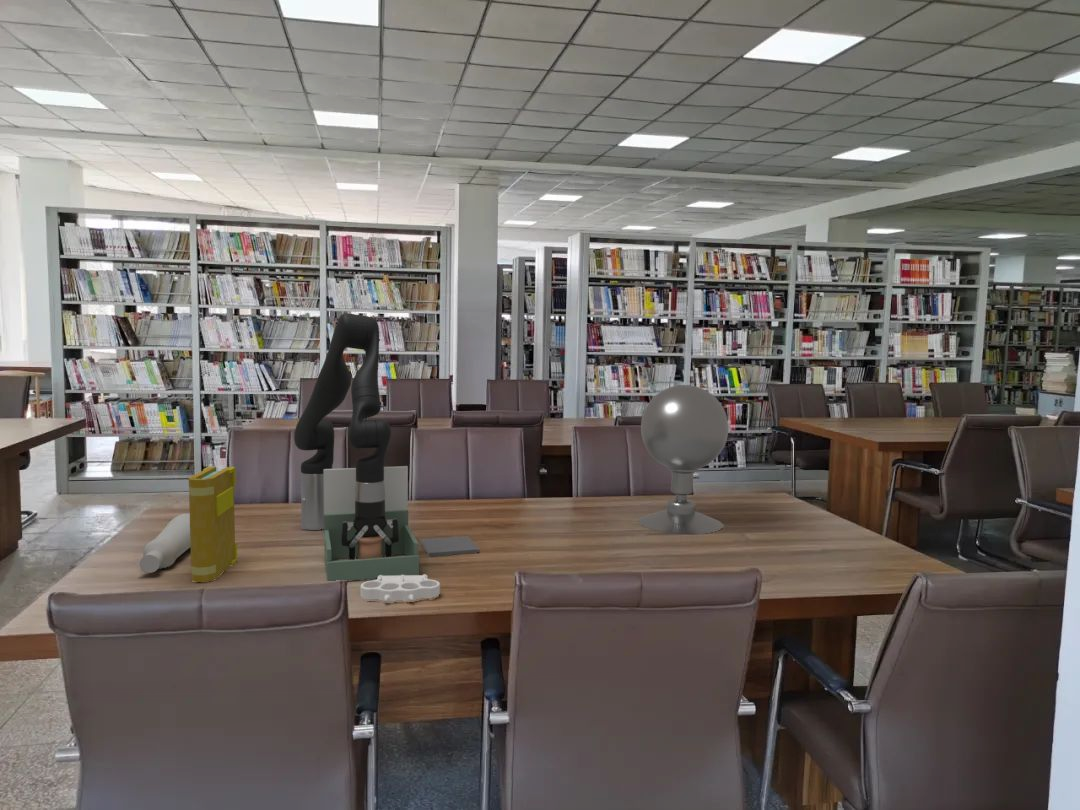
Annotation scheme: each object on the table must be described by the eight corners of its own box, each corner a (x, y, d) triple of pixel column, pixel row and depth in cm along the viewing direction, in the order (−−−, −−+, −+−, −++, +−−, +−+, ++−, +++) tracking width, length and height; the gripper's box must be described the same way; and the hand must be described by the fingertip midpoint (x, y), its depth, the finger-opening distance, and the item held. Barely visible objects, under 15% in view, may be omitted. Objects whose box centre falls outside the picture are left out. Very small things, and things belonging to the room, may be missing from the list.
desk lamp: (628, 527, 236) (632, 385, 232) (649, 509, 262) (653, 380, 257) (716, 538, 226) (723, 389, 222) (729, 518, 252) (735, 384, 247)
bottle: (164, 532, 210) (121, 569, 180) (182, 505, 210) (142, 538, 180) (193, 549, 212) (156, 588, 182) (211, 522, 211) (177, 558, 182)
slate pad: (428, 556, 203) (428, 553, 203) (420, 542, 216) (420, 539, 216) (479, 552, 207) (479, 549, 207) (468, 539, 220) (468, 535, 220)
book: (210, 561, 195) (208, 466, 193) (237, 561, 196) (235, 466, 193) (185, 583, 178) (182, 479, 176) (214, 582, 179) (212, 479, 176)
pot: (358, 572, 189) (357, 540, 188) (356, 564, 195) (355, 533, 194) (384, 570, 191) (384, 538, 190) (381, 562, 197) (381, 531, 196)
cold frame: (327, 583, 180) (326, 485, 178) (324, 557, 200) (323, 469, 197) (418, 575, 187) (419, 480, 185) (407, 551, 207) (407, 466, 204)
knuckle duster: (440, 584, 182) (439, 606, 168) (365, 586, 180) (357, 608, 165) (440, 571, 182) (439, 592, 167) (365, 572, 180) (357, 593, 165)
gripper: (396, 493, 197) (396, 553, 199) (340, 496, 193) (340, 557, 194) (400, 499, 190) (400, 561, 191) (342, 502, 185) (342, 566, 187)
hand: (370, 559), depth 193 cm, fingers open, 8 cm apart
